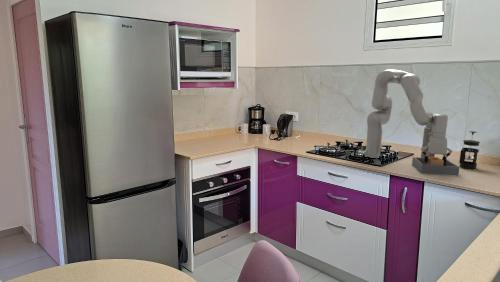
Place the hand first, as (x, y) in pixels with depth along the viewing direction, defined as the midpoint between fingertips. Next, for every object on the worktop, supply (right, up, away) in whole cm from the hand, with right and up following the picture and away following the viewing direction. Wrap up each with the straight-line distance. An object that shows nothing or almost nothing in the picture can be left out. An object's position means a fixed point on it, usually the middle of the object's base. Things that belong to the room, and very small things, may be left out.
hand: (434, 163), depth 213 cm
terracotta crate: (0, -3, +1) cm, 3 cm away
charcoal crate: (0, -4, +1) cm, 4 cm away
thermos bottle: (+7, 0, +24) cm, 25 cm away
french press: (+25, -4, +8) cm, 26 cm away
